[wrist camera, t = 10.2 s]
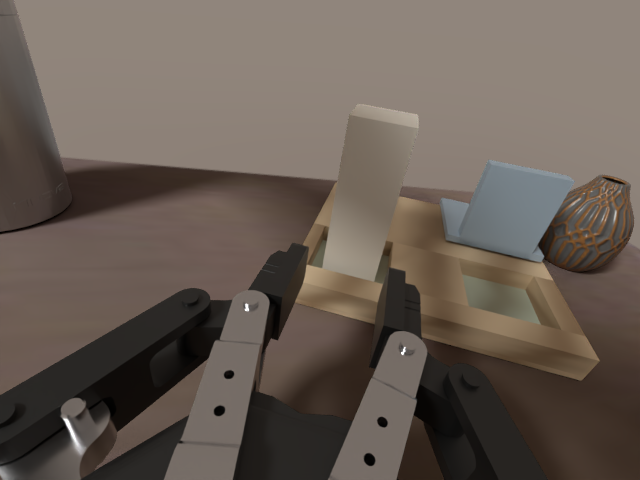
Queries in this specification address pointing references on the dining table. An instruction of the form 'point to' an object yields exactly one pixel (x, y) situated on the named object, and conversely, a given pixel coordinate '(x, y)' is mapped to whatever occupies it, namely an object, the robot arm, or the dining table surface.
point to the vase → (590, 225)
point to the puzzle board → (457, 293)
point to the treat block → (368, 188)
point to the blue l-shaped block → (507, 210)
